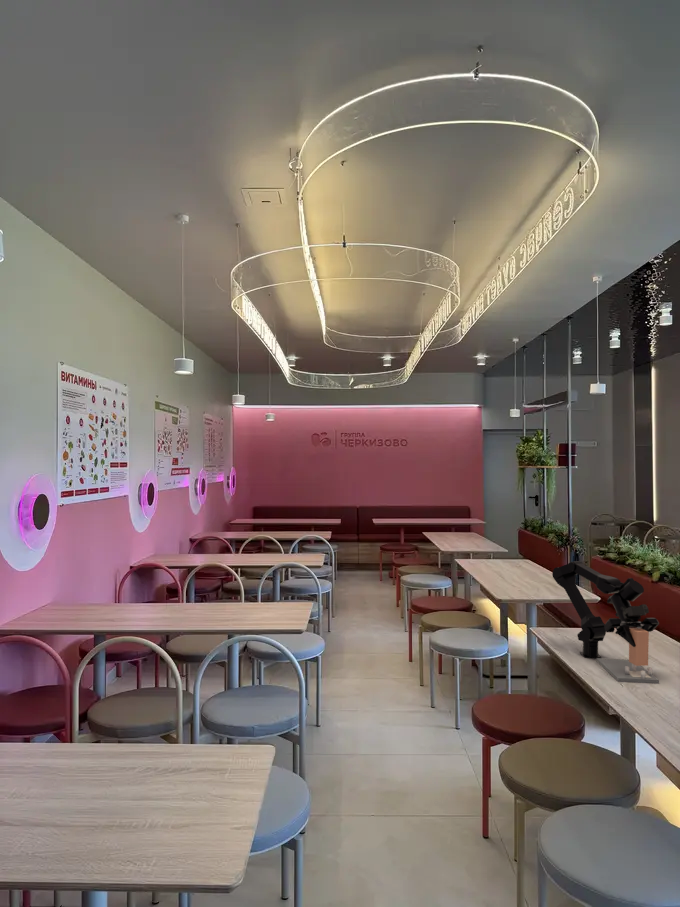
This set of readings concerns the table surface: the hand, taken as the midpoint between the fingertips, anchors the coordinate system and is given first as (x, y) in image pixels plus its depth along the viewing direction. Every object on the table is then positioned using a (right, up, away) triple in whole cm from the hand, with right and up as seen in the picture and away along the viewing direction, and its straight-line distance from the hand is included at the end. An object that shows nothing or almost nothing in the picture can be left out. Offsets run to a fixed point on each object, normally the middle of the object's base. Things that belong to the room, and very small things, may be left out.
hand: (641, 646), depth 216 cm
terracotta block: (0, -7, +1) cm, 7 cm away
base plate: (-2, -12, +7) cm, 14 cm away
